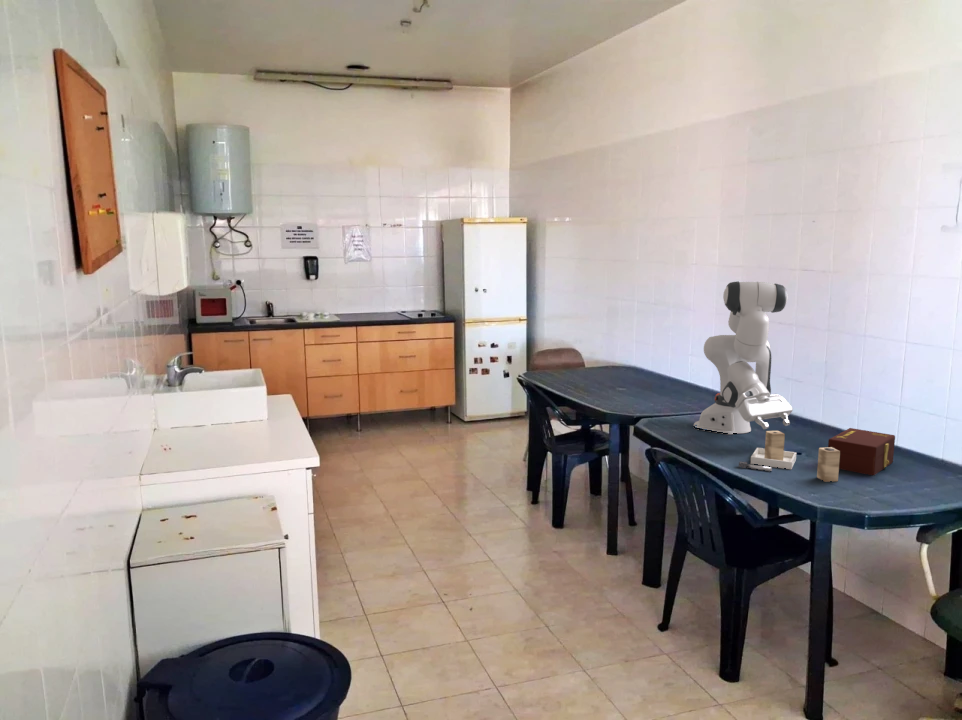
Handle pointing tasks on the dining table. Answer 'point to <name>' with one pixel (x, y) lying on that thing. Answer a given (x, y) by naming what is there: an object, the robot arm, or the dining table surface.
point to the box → (863, 450)
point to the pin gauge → (754, 466)
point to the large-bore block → (828, 464)
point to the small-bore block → (774, 445)
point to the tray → (759, 459)
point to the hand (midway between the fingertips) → (777, 426)
